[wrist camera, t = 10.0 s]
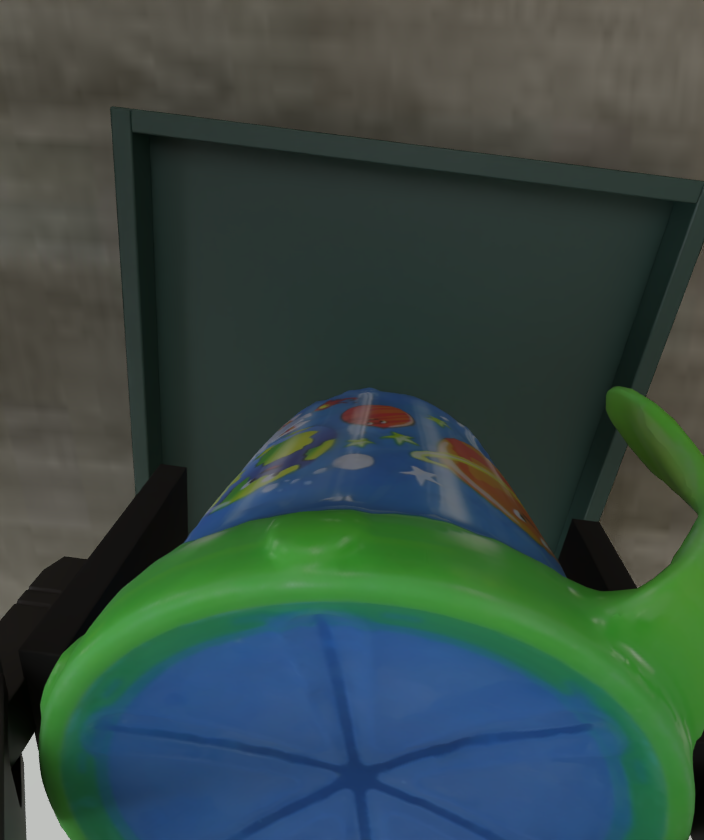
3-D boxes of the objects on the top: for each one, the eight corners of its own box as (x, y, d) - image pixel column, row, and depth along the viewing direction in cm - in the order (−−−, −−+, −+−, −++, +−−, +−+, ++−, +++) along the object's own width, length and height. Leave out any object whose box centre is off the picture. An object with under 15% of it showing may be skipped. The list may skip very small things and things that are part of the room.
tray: (157, 553, 29) (140, 582, 27) (136, 111, 20) (109, 105, 18) (544, 604, 29) (556, 637, 27) (692, 181, 20) (726, 183, 18)
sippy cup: (265, 667, 22) (173, 1035, 13) (90, 462, 18) (-214, 767, 9) (664, 518, 18) (957, 902, 9) (540, 215, 14) (814, 318, 5)
